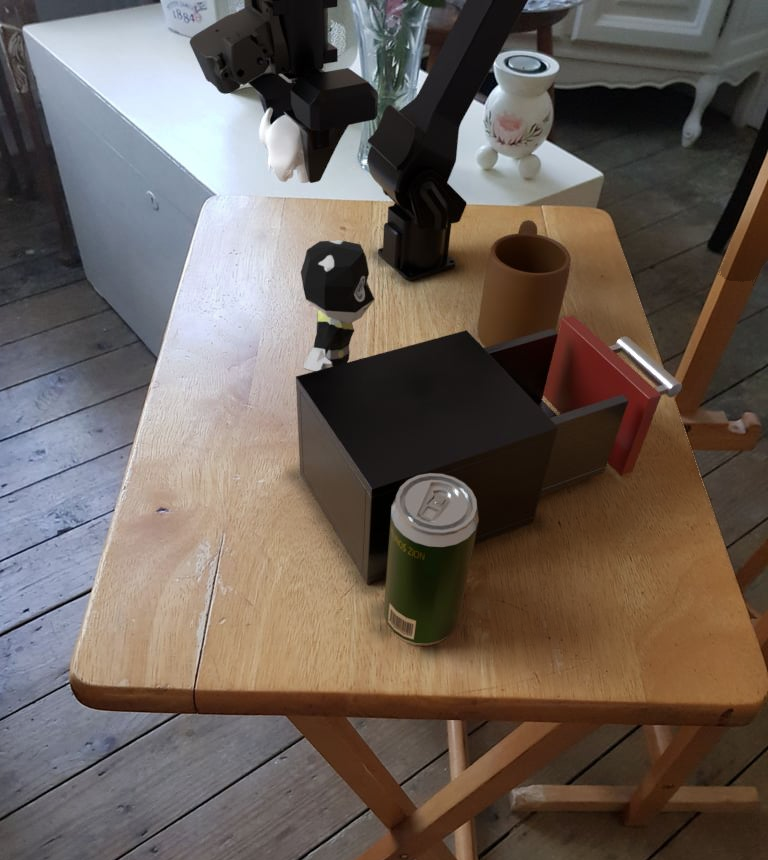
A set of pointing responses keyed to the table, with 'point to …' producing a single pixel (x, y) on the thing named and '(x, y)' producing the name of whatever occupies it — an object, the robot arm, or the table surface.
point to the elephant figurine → (283, 147)
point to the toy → (335, 298)
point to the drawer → (587, 397)
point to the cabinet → (419, 440)
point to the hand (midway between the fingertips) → (298, 167)
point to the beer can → (429, 557)
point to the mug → (522, 286)
